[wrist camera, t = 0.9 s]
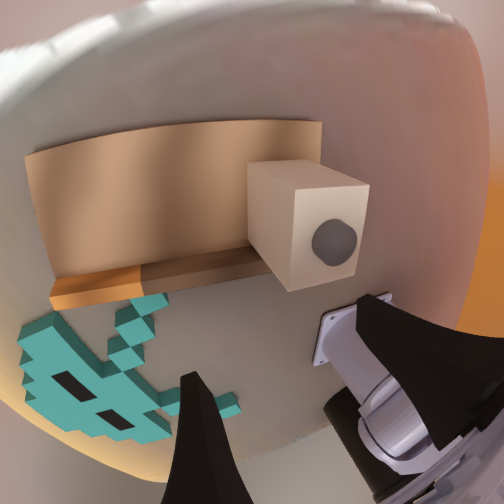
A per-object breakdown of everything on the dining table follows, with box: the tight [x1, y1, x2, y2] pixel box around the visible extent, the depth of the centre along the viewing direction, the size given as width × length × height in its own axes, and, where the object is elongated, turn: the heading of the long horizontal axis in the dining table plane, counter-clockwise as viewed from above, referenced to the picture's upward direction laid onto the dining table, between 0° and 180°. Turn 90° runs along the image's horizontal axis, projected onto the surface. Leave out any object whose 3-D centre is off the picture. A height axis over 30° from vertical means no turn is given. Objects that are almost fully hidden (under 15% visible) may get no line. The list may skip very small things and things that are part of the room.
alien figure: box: [17, 292, 242, 444], centre depth 22 cm, size 20×2×20 cm
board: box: [25, 119, 322, 311], centre depth 16 cm, size 18×9×4 cm, turn 90°
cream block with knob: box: [247, 160, 370, 292], centre depth 15 cm, size 4×5×7 cm
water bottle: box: [324, 387, 435, 504], centre depth 31 cm, size 10×10×23 cm
